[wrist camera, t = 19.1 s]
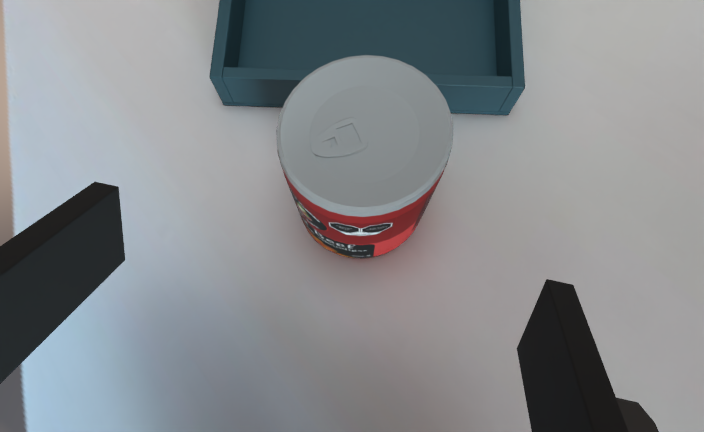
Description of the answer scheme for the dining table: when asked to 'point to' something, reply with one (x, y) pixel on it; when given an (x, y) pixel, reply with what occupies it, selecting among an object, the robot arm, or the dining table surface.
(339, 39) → the tray
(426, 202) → the canned food
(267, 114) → the dining table surface
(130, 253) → the dining table surface
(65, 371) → the dining table surface
